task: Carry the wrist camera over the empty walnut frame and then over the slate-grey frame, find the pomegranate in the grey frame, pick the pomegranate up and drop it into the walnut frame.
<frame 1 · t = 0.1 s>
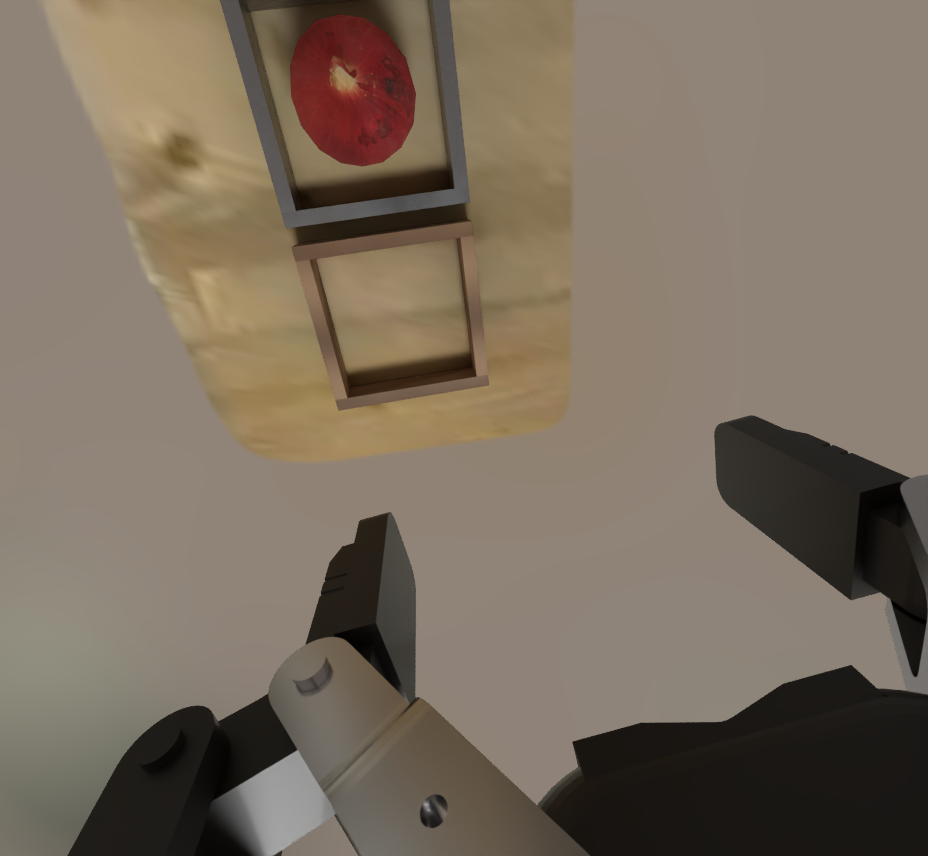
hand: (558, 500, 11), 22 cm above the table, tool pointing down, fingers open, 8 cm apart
walnut frame: (399, 315, 30), on the table
grey frame: (360, 108, 25), on the table
pomegranate: (360, 109, 25), resting in grey frame
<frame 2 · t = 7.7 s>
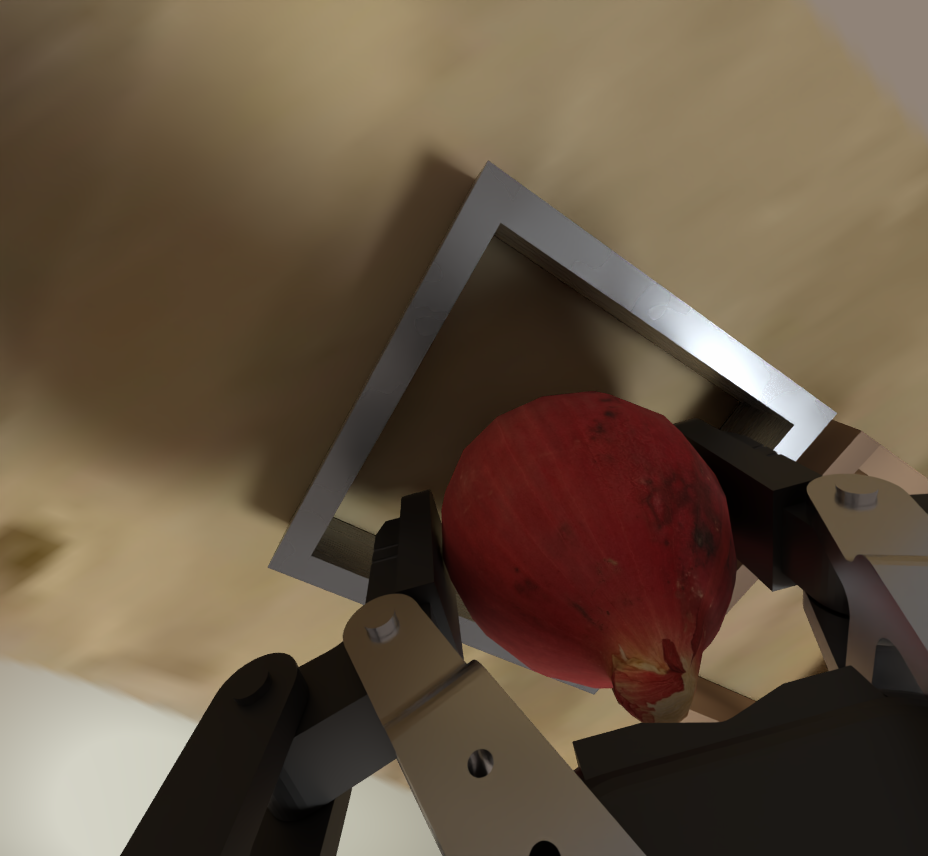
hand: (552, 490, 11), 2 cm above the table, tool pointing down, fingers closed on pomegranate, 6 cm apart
walnut frame: (794, 598, 16), on the table
grey frame: (534, 458, 13), on the table
pomegranate: (532, 455, 13), resting in grey frame, touching gripper
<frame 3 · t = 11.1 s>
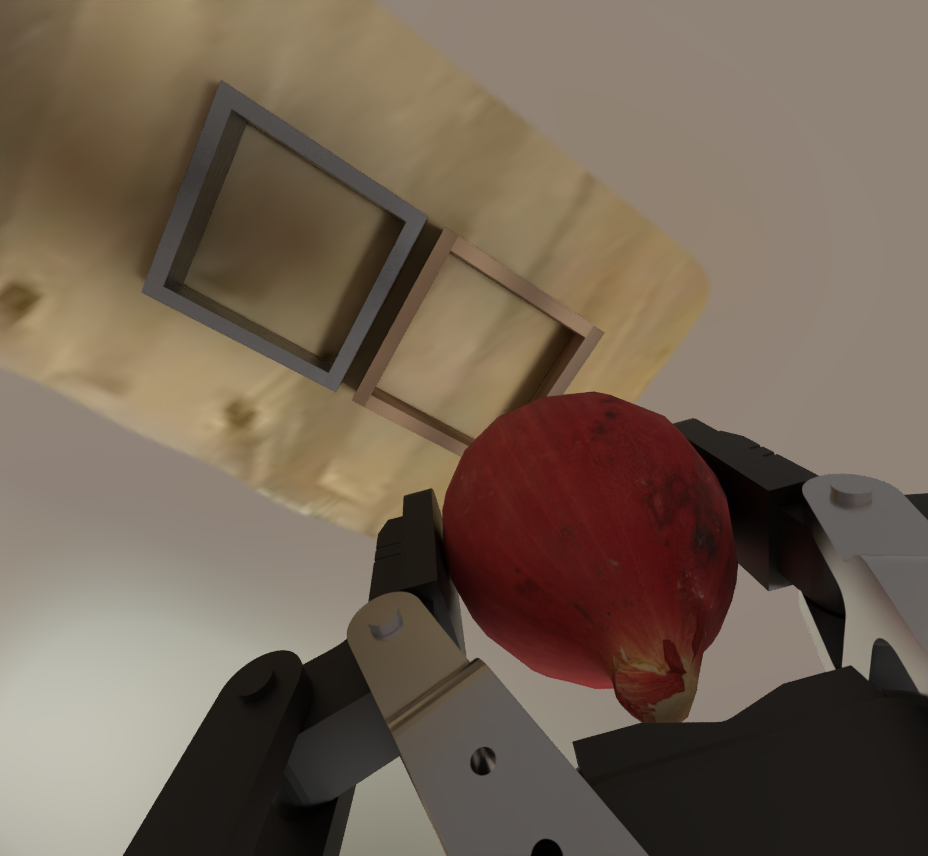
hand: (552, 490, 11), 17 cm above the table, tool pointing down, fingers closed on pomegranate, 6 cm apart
walnut frame: (474, 359, 27), on the table
grey frame: (295, 255, 25), on the table
pomegranate: (533, 455, 13), point 15 cm above the table, touching gripper
when the fingers open (4 cm above the table, at t = 14.4 s): pomegranate drops 2 cm, resting in walnut frame.
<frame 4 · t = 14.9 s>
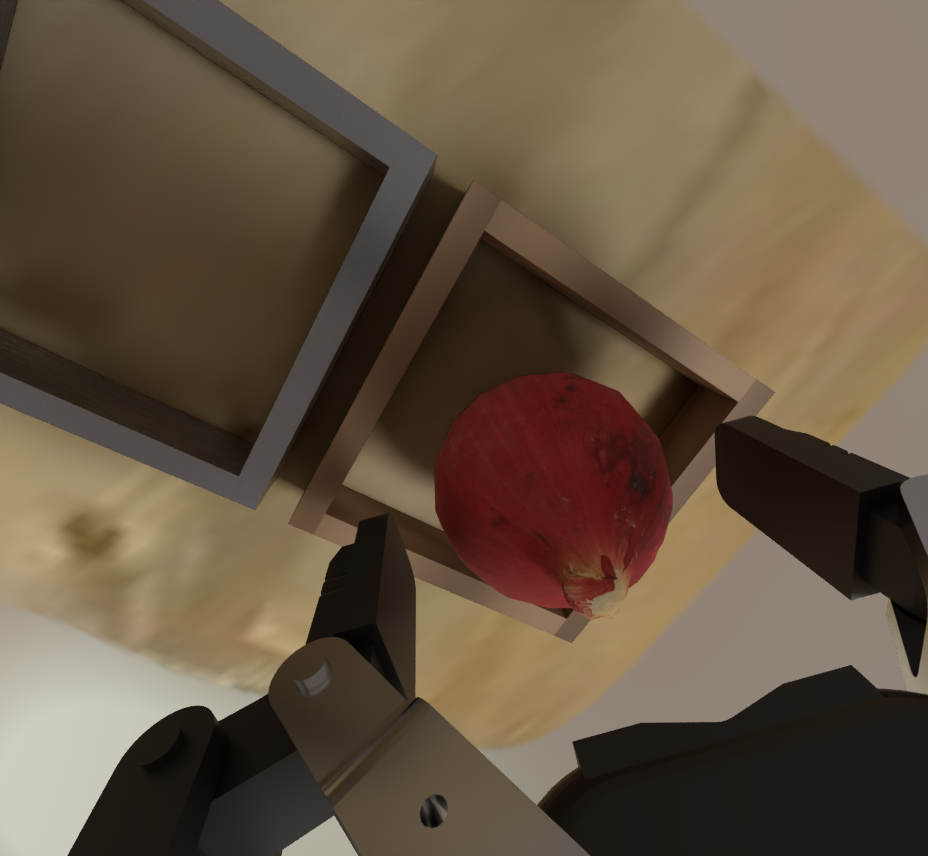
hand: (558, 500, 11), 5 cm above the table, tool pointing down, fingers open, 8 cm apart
walnut frame: (518, 433, 15), on the table
grey frame: (168, 241, 12), on the table
pomegranate: (515, 430, 15), resting in walnut frame
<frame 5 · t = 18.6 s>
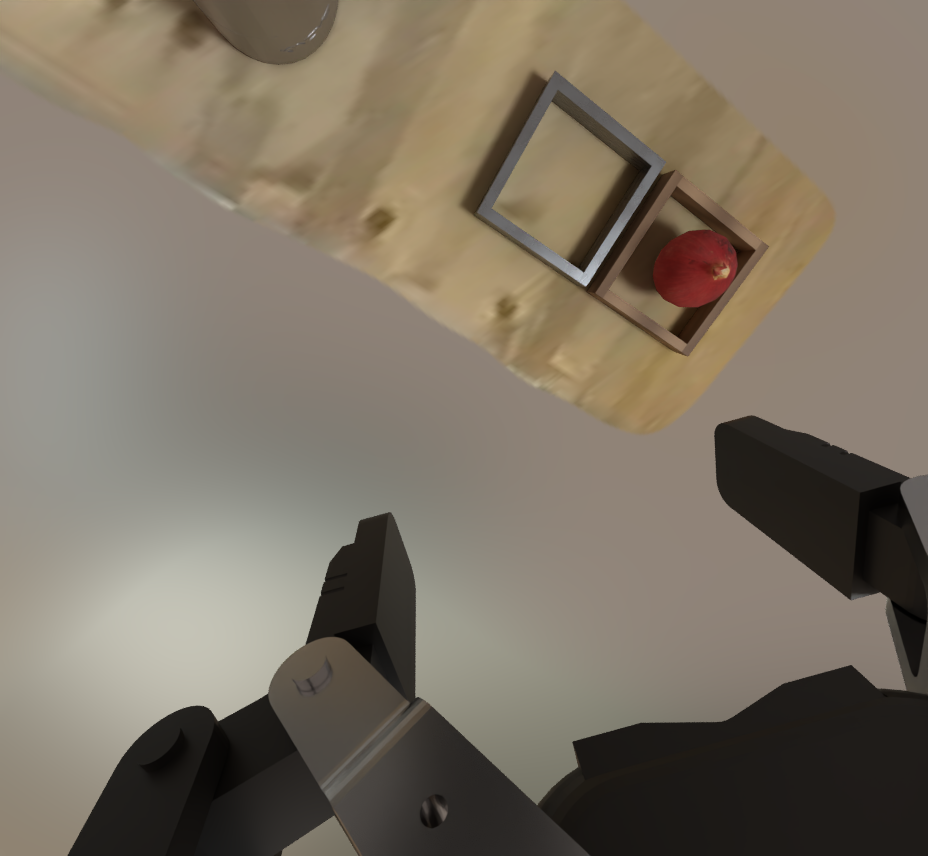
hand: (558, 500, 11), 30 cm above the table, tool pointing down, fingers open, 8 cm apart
walnut frame: (669, 269, 39), on the table
grey frame: (563, 191, 36), on the table
pomegranate: (667, 269, 39), resting in walnut frame
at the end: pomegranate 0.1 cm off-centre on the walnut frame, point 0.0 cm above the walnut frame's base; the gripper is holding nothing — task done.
